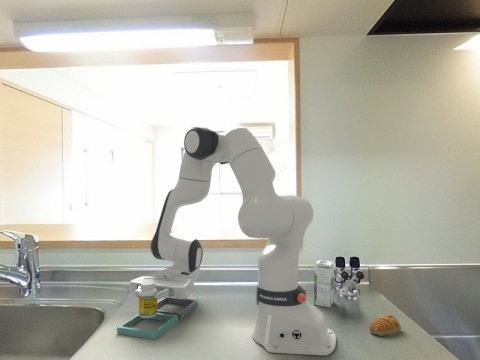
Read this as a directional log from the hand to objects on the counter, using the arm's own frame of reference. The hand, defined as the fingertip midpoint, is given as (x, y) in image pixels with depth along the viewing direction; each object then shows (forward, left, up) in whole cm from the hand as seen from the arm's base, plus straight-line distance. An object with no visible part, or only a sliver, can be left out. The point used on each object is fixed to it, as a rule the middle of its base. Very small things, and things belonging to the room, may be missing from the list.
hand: (146, 295), depth 102 cm
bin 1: (0, -1, -10) cm, 10 cm away
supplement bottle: (0, -1, -6) cm, 6 cm away
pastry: (-67, -19, -10) cm, 70 cm away
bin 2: (0, -15, -10) cm, 18 cm away
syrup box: (-48, -35, -10) cm, 61 cm away
